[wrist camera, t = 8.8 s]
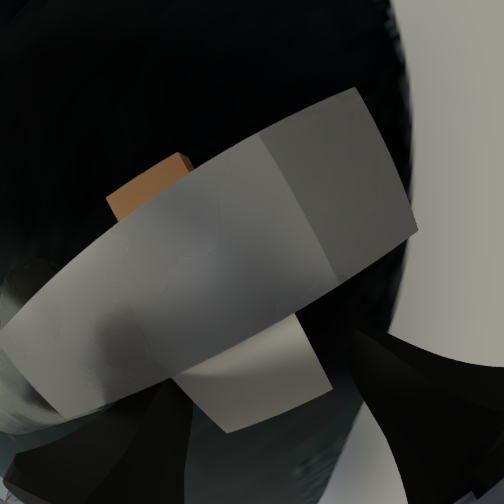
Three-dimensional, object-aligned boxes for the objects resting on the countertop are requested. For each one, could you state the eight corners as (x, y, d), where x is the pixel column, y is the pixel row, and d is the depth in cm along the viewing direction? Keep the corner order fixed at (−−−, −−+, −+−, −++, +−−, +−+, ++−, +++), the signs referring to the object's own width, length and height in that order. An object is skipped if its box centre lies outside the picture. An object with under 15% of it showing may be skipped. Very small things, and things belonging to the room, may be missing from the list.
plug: (116, 202, 9) (63, 219, 6) (206, 147, 9) (197, 129, 6) (223, 366, 12) (226, 433, 8) (302, 329, 12) (333, 388, 8)
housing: (-2, 309, 10) (-61, 361, 4) (264, 100, 9) (313, 25, 4) (60, 387, 12) (22, 457, 6) (337, 231, 11) (432, 283, 5)
